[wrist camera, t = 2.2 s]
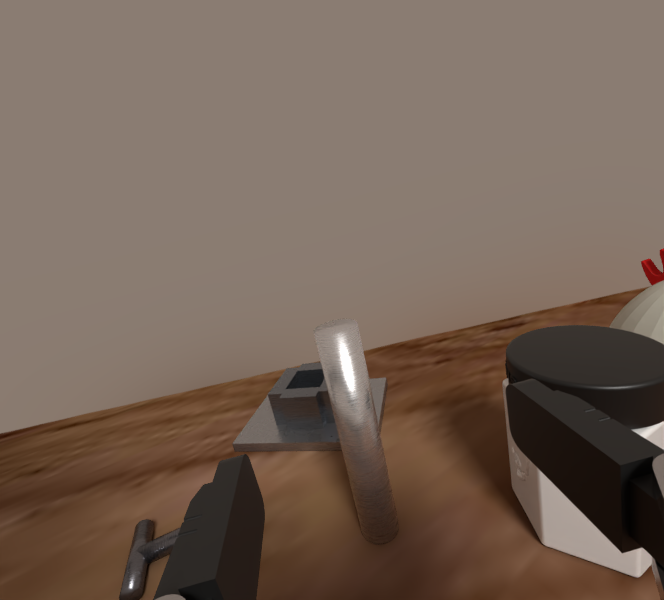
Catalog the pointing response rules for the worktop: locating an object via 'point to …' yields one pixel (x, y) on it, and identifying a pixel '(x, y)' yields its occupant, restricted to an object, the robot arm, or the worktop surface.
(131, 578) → the chuck key
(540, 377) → the jar
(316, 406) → the chuck block
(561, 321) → the worktop surface
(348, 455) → the steel rod
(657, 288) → the kitchen timer
